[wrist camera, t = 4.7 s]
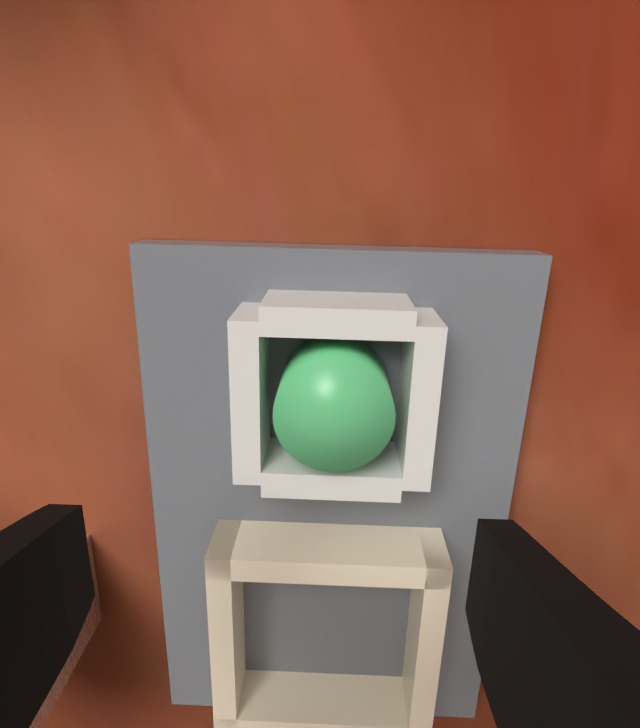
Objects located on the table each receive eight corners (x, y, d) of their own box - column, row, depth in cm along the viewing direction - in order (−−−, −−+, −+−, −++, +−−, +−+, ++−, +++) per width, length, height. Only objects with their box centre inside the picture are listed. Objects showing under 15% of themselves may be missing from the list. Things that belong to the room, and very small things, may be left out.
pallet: (180, 677, 22) (153, 761, 19) (143, 239, 16) (95, 253, 13) (467, 690, 22) (490, 777, 19) (537, 250, 16) (588, 267, 13)
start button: (281, 430, 16) (272, 469, 14) (281, 332, 15) (272, 358, 13) (383, 433, 16) (391, 474, 14) (390, 335, 15) (400, 361, 13)
